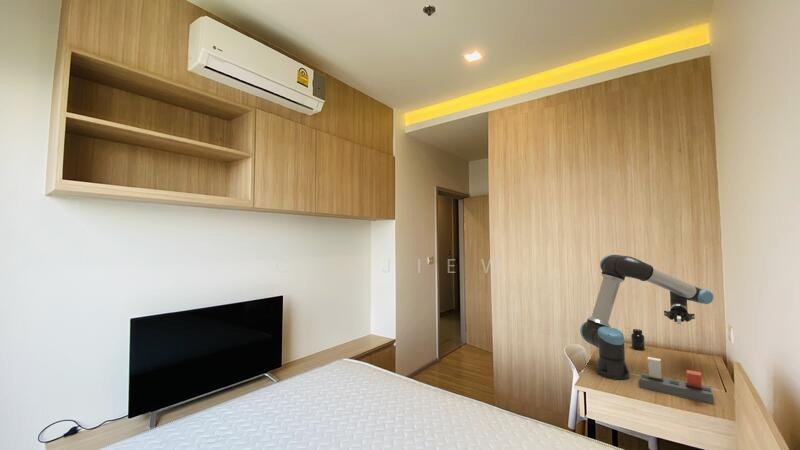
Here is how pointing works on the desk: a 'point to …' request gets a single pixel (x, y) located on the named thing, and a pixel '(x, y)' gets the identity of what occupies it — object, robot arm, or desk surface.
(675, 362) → the desk surface
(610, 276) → the robot arm
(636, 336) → the supplement bottle
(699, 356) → the desk surface
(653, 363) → the white rocker
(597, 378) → the desk surface
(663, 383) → the grey slotted base
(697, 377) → the red upright block
